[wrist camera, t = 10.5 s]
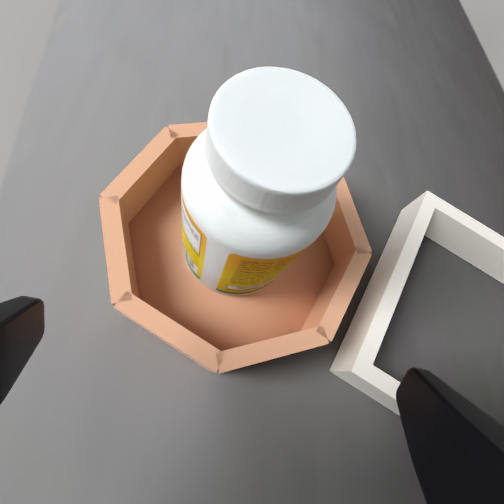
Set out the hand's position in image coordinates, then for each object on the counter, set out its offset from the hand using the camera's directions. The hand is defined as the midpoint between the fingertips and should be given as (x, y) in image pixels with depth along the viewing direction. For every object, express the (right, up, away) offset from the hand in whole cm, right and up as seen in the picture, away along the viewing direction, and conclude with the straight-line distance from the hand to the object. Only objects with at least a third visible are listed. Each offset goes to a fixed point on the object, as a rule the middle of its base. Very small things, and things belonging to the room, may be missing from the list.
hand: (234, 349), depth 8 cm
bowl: (-1, +2, +10) cm, 11 cm away
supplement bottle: (-1, +2, +10) cm, 10 cm away
